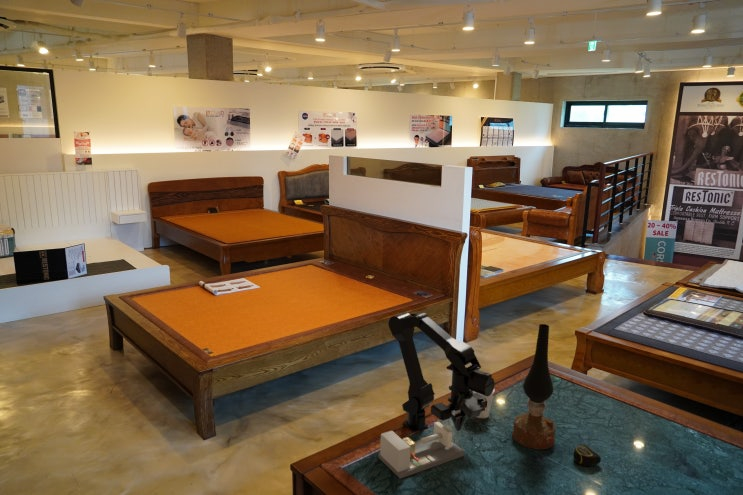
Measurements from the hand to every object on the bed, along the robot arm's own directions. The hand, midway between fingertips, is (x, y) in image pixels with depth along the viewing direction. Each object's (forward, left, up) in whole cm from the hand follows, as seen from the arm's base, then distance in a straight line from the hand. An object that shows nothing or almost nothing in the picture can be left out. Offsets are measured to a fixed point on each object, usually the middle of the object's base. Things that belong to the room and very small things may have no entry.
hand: (457, 430), depth 176 cm
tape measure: (+26, +30, -5) cm, 40 cm away
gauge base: (0, -14, -5) cm, 15 cm away
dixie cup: (-11, +20, -5) cm, 23 cm away
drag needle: (+1, -19, -2) cm, 19 cm away
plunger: (0, -10, -2) cm, 10 cm away
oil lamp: (+9, +25, -5) cm, 27 cm away
